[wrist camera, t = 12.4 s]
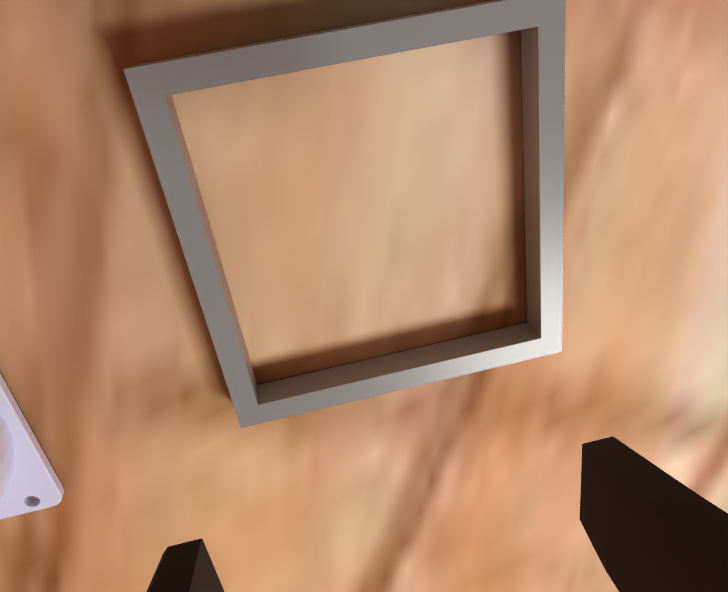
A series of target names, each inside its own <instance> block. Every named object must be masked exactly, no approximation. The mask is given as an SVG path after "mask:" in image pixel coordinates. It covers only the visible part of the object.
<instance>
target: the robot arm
mask: <svg viewBox="0 0 728 592" xmlns="http://www.w3.org/2000/svg"><path fill="white" fill-rule="evenodd" d="M63 493H64V489H63V487H62V485H61V483H60V481H59V479H58V477H57V476H56V474H55V472H54V470H53V468H52V467H51V465H50V463H49V461H48V459H47V458H46V456H45V454H44V452H43V450H42V448H41V447H40V445H39V443H38V441H37V439H36V438H35V436H34V434H33V432H32V430H31V428H30V427H29V425H28V423H27V421H26V419H25V418H24V416H23V414H22V412H21V410H20V409H19V407H18V405H17V403H16V401H15V399H14V398H13V396H12V394H11V392H10V390H9V389H8V387H7V385H6V383H5V381H4V379H3V378H2V376H1V374H0V519H3V518H8V517H12V516H16V515H20V514H24V513H28V512H32V511H36V510H40V509H45V508H49V507H53V506H55V505H57V504H58V503H59V502H60V501H61V499H62V496H63ZM30 496H35V497H38V498H37V499H34V498H31V497H30ZM580 521H581V523H582V525H583V527H584V529H585V531H586V533H587V535H588V537H589V539H590V541H591V543H592V545H593V547H594V549H595V551H596V553H597V555H598V556H599V558H600V560H601V562H602V564H603V566H604V568H605V570H606V572H607V573H608V575H609V576H610V578H611V580H612V581H613V583H614V584H615V586H616V587H617V589H618V590H619V592H728V513H726V512H725V511H723V510H721V509H720V508H718V507H717V506H715V505H714V504H712V503H711V502H709V501H707V500H706V499H704V498H703V497H701V496H700V495H698V494H697V493H695V492H694V491H692V490H691V489H689V488H688V487H686V486H685V485H683V484H682V483H680V482H679V481H677V480H676V479H674V478H673V477H671V476H670V475H668V474H667V473H666V472H664V471H663V470H661V469H660V468H658V467H657V466H655V465H654V464H652V463H651V462H650V461H648V460H647V459H645V458H644V457H642V456H641V455H639V454H638V453H636V452H635V451H633V450H632V449H631V448H629V447H628V446H626V445H625V444H623V443H622V442H620V441H619V440H617V439H616V438H614V437H609V438H605V439H601V440H597V441H593V442H589V443H585V444H582V471H581V500H580ZM147 592H224V590H223V587H222V585H221V583H220V580H219V578H218V575H217V573H216V571H215V568H214V566H213V563H212V561H211V559H210V556H209V554H208V552H207V549H206V547H205V544H204V542H203V540H202V539H198V540H194V541H190V542H186V543H182V544H178V545H174V546H170V547H168V548H167V549H166V550H165V552H164V553H163V555H162V558H161V560H160V562H159V565H158V567H157V569H156V572H155V574H154V576H153V578H152V581H151V583H150V585H149V587H148V590H147Z"/></svg>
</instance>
